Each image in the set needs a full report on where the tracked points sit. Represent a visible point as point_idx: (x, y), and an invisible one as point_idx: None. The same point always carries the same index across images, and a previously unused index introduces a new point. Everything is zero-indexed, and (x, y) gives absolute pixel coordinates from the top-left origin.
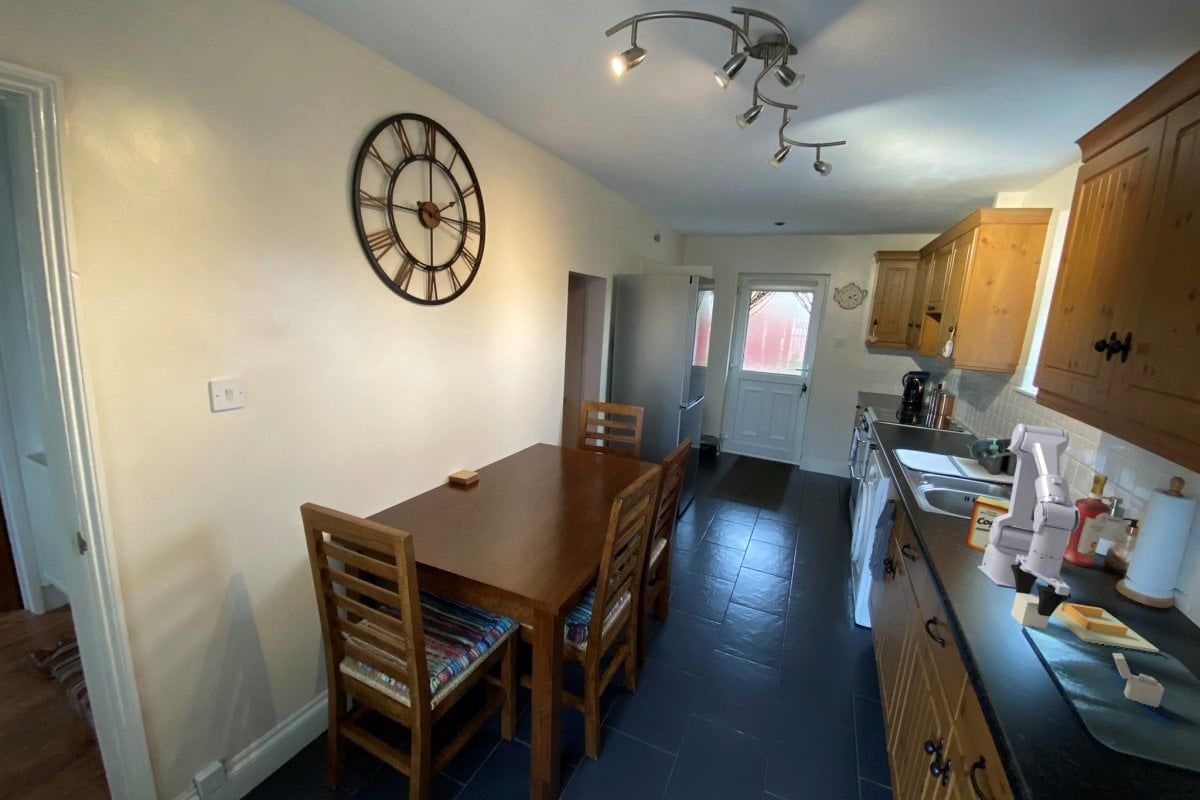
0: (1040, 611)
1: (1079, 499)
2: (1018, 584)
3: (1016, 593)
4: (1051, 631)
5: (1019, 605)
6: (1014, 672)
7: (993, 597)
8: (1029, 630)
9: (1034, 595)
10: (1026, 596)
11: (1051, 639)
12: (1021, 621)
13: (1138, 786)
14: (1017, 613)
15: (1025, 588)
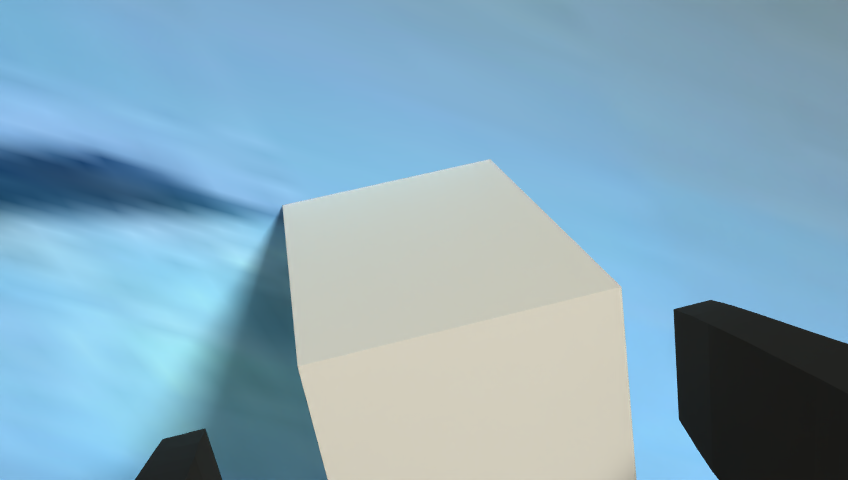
0: (138, 476)
1: None
2: (809, 385)
3: (608, 280)
4: (305, 458)
5: (431, 252)
6: None
7: (829, 85)
8: (183, 250)
9: None
10: (531, 404)
11: (109, 415)
12: (302, 212)
13: None
14: (406, 206)
15: (767, 460)
